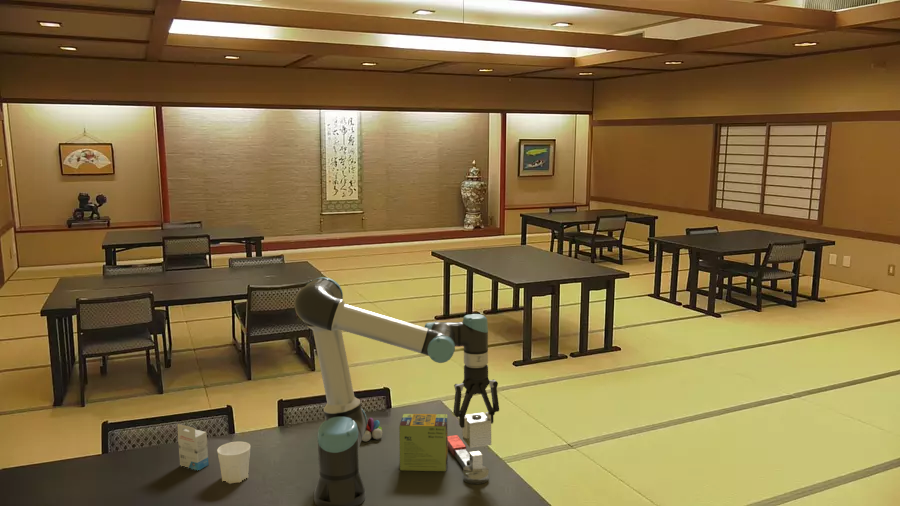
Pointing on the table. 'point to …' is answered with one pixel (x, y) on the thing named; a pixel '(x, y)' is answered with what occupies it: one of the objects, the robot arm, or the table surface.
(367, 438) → the rainbow finned toy
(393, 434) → the table surface
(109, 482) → the table surface
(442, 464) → the protein box
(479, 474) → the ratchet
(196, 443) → the ink box
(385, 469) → the table surface
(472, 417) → the metal cube with knob
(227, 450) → the cup
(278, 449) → the table surface
